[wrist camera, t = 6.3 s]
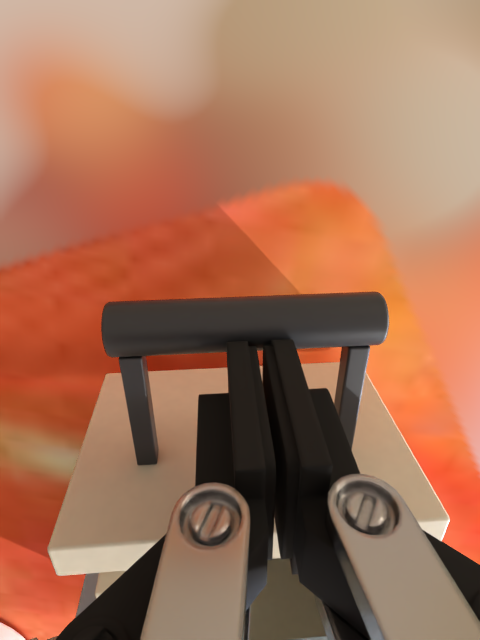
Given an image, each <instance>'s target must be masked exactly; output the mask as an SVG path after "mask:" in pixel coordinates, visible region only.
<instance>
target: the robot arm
mask: <svg viewBox="0 0 480 640" xmlns="http://www.w3.org/2000/svg"><path fill="white" fill-rule="evenodd" d="M227 370H228V393H217V394H199V396H198V419H197V447H196V474H195V487H193V488H191V489H190V490H188V491H187V492H185V493H184V494H183V495H182V496H181V497H180V498H179V500H178V501H177V502H176V504H175V506H174V509H173V511H172V513H171V517H170V521H169V525H168V529H167V533H166V534H165V535H164V536H163V537H162V538H161V539H160V540H159V541H158V542H157V543H156V544H155V545H153V546H152V547H151V548H150V549H149V550H148V551H147V552H146V553H145V554H144V555H143V556H142V557H141V558H139V559H138V560H137V561H136V562H135V563H134V564H133V565H132V566H131V567H130V568H129V569H128V570H127V571H125V572H124V573H123V574H122V575H121V576H120V577H119V578H118V579H117V580H116V581H115V582H114V583H113V584H112V585H110V586H109V587H108V588H107V589H106V590H105V591H104V592H103V593H102V594H101V595H100V596H99V597H98V598H96V599H95V600H94V601H93V602H92V603H91V604H90V605H89V606H88V607H87V608H86V609H85V610H84V611H82V612H81V613H80V614H79V615H78V616H77V617H76V618H75V619H74V620H73V621H72V622H71V623H70V624H68V625H67V627H66V628H65V629H64V630H63V631H62V632H61V634H60V635H59V636H56V637H53V638H50V639H47V640H249V625H250V605H251V604H252V602H253V601H254V600H255V599H256V597H257V596H258V595H259V593H260V592H261V591H262V590H263V588H264V587H265V586H266V584H267V563H268V560H272V555H273V534H274V518H275V525H276V531H277V538H278V545H279V552H280V557H281V559H290V565H291V571H292V575H295V574H298V576H299V582H300V583H301V584H302V585H304V586H305V587H306V588H307V589H308V590H310V591H311V592H312V593H313V594H314V597H315V602H316V606H317V609H318V612H319V615H320V618H321V621H322V624H323V627H324V630H325V633H326V636H327V639H328V640H480V565H479V564H477V563H476V562H474V561H472V560H471V559H469V558H468V557H466V556H464V555H463V554H461V553H459V552H458V551H456V550H455V549H453V548H451V547H450V546H448V545H447V544H445V543H443V542H442V541H440V540H438V539H437V538H435V537H434V536H432V535H430V534H429V533H427V532H425V531H424V530H422V528H421V527H420V525H419V523H418V522H417V520H416V519H415V517H414V515H413V514H412V512H411V511H410V509H409V507H408V506H407V504H406V503H405V501H404V499H403V498H402V497H401V496H400V494H399V493H398V492H397V491H396V490H395V489H394V488H393V487H392V486H390V485H389V484H388V483H387V482H385V481H383V480H381V479H379V478H377V477H374V476H371V475H366V474H360V471H359V469H358V466H357V463H356V461H355V458H354V455H353V453H352V450H351V447H350V445H349V442H348V440H347V437H346V434H345V432H344V429H343V426H342V424H341V421H340V418H339V416H338V413H337V410H336V408H335V405H334V402H333V400H332V397H331V395H330V392H329V390H328V389H327V388H317V389H309V388H308V385H307V382H306V378H305V375H304V372H303V369H302V366H301V363H300V359H299V356H298V353H297V350H296V347H295V344H294V341H293V339H283V340H271V346H263V377H261V371H260V366H259V360H258V354H257V348H256V346H249V347H248V341H236V342H227ZM0 640H26V639H25V638H24V637H23V636H22V635H20V634H19V633H18V632H16V631H15V630H14V629H12V628H11V627H9V626H7V625H5V624H3V623H1V622H0ZM31 640H38V639H37V638H34V639H31Z"/></svg>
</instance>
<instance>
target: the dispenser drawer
mask: <svg viewBox="0 0 480 640" xmlns="http://www.w3.org/2000/svg"><path fill="white" fill-rule="evenodd" d="M388 327H389V315H388V308H387V304H386V301H385V299H384V297H383V296H382V295H381V294H380V293H378V292H356V293H330V294H303V295H276V296H250V297H223V298H197V299H170V300H144V301H117V302H108V303H106V304H105V306H104V309H103V313H102V322H101V331H102V341H103V345H104V349H105V352H106V354H107V355H108V356H109V357H119V364H120V370H121V373H108V374H106V375H105V378H104V381H103V384H102V387H101V390H100V393H99V396H98V399H97V402H96V405H95V408H94V411H93V414H92V417H91V420H90V423H89V426H88V429H87V432H86V435H85V438H84V441H83V444H82V447H81V450H80V453H79V456H78V459H77V462H76V465H75V468H74V471H73V474H72V477H71V480H70V483H69V486H68V489H67V492H66V495H65V498H64V501H63V504H62V507H61V510H60V513H59V516H58V519H57V522H56V525H55V528H54V531H53V534H52V537H51V540H50V543H49V546H48V554H49V556H50V559H51V561H52V564H53V567H54V569H55V572H56V574H57V575H59V576H65V575H77V574H89V573H99V576H98V581H97V585H96V590H95V597H96V598H98V597H99V596H100V595H101V594H102V593H103V592H104V591H105V590H106V589H107V588H108V587H109V586H110V585H112V584H113V583H114V582H115V581H116V580H117V579H118V578H119V577H120V576H121V575H122V574H123V573H124V572H125V571H127V570H128V569H129V568H130V567H131V566H132V565H133V564H134V563H135V562H136V561H137V560H138V559H139V558H141V557H142V556H143V555H144V554H145V553H146V552H147V551H148V550H149V549H150V548H151V547H152V546H153V545H155V544H156V543H157V542H158V541H159V540H160V539H161V538H162V537H163V536H164V535H165V534H166V533H167V529H168V525H169V521H170V517H171V513H172V511H173V509H174V506H175V504H176V502H177V501H178V500H179V498H180V497H181V496H182V495H183V494H184V493H185V492H187V491H188V490H190V489H191V488H193V487H195V474H196V447H197V419H198V396H199V394H217V393H228V370H227V368H207V369H187V370H166V371H148V368H147V361H146V356H152V355H173V354H195V353H216V352H227V342H236V341H248V347H249V346H256V348H257V351H259V350H263V346H271V340H283V339H293V341H294V344H295V347H296V349H302V348H323V347H342V351H341V358H340V362H329V363H308V364H301V366H302V369H303V372H304V375H305V378H306V382H307V385H308V388H309V389H317V388H327V389H328V390H329V392H330V395H331V397H332V400H333V402H334V405H335V408H336V410H337V413H338V416H339V418H340V421H341V424H342V426H343V429H344V432H345V434H346V437H347V440H348V442H349V445H350V447H351V450H352V453H353V455H354V458H355V461H356V463H357V466H358V469H359V471H360V474H366V475H371V476H374V477H377V478H379V479H381V480H383V481H385V482H387V483H388V484H389V485H390V486H392V487H393V488H394V489H395V490H396V491H397V492H398V493H399V494H400V496H401V497H402V498H403V499H404V501H405V503H406V504H407V506H408V507H409V509H410V511H411V512H412V514H413V515H414V517H415V519H416V520H417V522H418V523H419V525H420V527H421V528H422V530H424V531H425V532H427V533H429V534H430V535H432V536H434V537H435V538H437V539H438V540H440V541H442V539H443V536H444V534H445V531H446V528H447V526H448V523H449V521H450V520H449V516H448V514H447V512H446V511H445V509H444V507H443V505H442V504H441V502H440V500H439V498H438V497H437V495H436V493H435V491H434V490H433V488H432V486H431V484H430V483H429V481H428V479H427V477H426V476H425V474H424V472H423V471H422V469H421V467H420V465H419V464H418V462H417V460H416V458H415V457H414V455H413V453H412V451H411V450H410V448H409V446H408V444H407V443H406V441H405V439H404V438H403V436H402V434H401V432H400V431H399V429H398V427H397V425H396V424H395V422H394V420H393V418H392V417H391V415H390V413H389V411H388V410H387V408H386V406H385V404H384V403H383V401H382V399H381V398H380V396H379V394H378V392H377V391H376V389H375V387H374V385H373V384H372V382H371V380H370V378H369V377H368V375H367V373H366V368H367V362H368V357H369V351H370V346H369V345H379V344H381V343H383V342H384V340H385V339H386V336H387V333H388ZM260 371H261V377H263V366H260ZM320 636H326V633H325V630H324V627H323V624H322V621H321V618H320V615H319V612H318V609H317V606H316V602H315V597H314V594H313V593H312V592H311V591H310V590H308V589H307V588H306V587H305V586H304V585H302V584H301V583H300V582H299V576H298V574H295V575H292V571H291V565H290V559H281V557H280V552H279V545H278V538H277V531H276V525H275V518H274V534H273V555H272V560H268V563H267V584H266V586H265V587H264V588H263V590H262V591H261V592H260V593H259V595H258V596H257V597H256V599H255V600H254V601H253V602H252V604H251V605H250V625H249V640H289V639H299V638H310V637H320Z"/></svg>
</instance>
